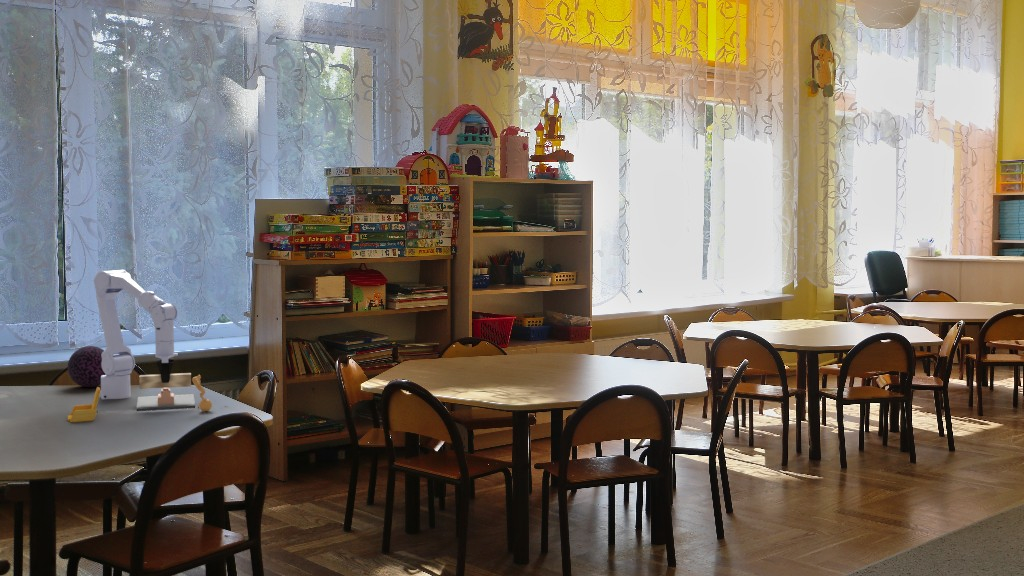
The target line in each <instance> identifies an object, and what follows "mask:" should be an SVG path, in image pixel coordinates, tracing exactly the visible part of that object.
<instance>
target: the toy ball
mask: <svg viewBox="0 0 1024 576" xmlns="http://www.w3.org/2000/svg"><path fill="white" fill-rule="evenodd" d="M103 352H104V349H102V348H101V347H98V346H94V345H87V346H83V347H80V348H78V349H77V350H75V351H74V352H73V353H72V354H71V356H70V357H69V359H68V361H67V373H68V376H69V377H70V379H71V380H72V382H74V383H75V384H77V385H78V386H81V387H83V388H97V387H99V386H101V375H105V373H104V371H103V370H102V366H101V363H102V356H101V354H102V353H103Z"/></svg>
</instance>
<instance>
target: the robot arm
mask: <svg viewBox="0 0 1024 576" xmlns="http://www.w3.org/2000/svg"><path fill="white" fill-rule="evenodd" d="M93 285H94V290H95V293H96V294H95V297H96V302H97V309H98V312H99V317H100V320H101V321H100V322H101V326H102V329H103V330H102V331H103V337H104V340H105V345H106V348H104V349H105V350H104V349H103V350H104V352H103V353H102V354H101V356H102V363H101V366H102V370H103V371H104V373H105V375H101V385H100V395H99V397H100V399H101V400H122V399H123V400H124V399H127V398H128V399H129V398H130V397H131V395H132V394H131V374H132V371H133V370H134V368H135V366H136V360H135V357H134V354H132V350H131V348H130V347H128V346H127V345H126V344H125V342H124V339H123V335H122V329H121V324H120V321H119V315H118V310H117V305H116V302H115V300H116V297H117V296H118V295H119V294H121V292H123V290H124V291H125V292H127V293H128V294H129V295H131V296H132V297H134V298H135V299H137V301H138V302H137V303H138V305H139V306H141V308H143V309H144V310H145V311H146V312H148V313H149V314H150V318H151V320H152V321H153V326H154V327H153V328H154V330H155V331H154V333H155V334H154V336H155V341H154V342H155V355H154V357H155V358H156V360H155V364H156V366H157V367H158V370H159V374H160V375H161V380H162V383H169V380H170V374H172V369H173V366H174V364H175V358H173V357H178V356H179V355H178V354H179V353H178V352H175V338H174V337H175V332H174V331H175V330H174V321H175V320H176V318H177V316H178V309H177V307H176V306H175V305H174V304H173V303H172V302H168V303H167V302H165V300H164V299H161V298H160V297H158V296H157V294H156V292H154V291H150V290H147V291H146V290H144V288H142V287H141V286H140V285H139V284H138V283H137V282H136V281H135V280H134V279H132V276H131V274H130V273H129V272H127V271H126V269H117V270H115V269H114V270H99V271H98V272H97V273H96V275H95V276H94V278H93ZM157 358H158V359H157Z"/></svg>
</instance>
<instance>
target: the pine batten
mask: <svg viewBox="0 0 1024 576" xmlns="http://www.w3.org/2000/svg"><path fill="white" fill-rule="evenodd" d="M138 377H139V390H143V389H144V390H146V389H163V388H168V389H169V388H183V387H186V388H187V387H192V373H191V372H184V373H183V372H181V373H180V372H179V373H170V380H169V383H162V380H161V375H160V373H159V374H140V375H139V376H138Z"/></svg>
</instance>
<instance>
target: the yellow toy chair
mask: <svg viewBox="0 0 1024 576" xmlns="http://www.w3.org/2000/svg"><path fill="white" fill-rule="evenodd" d="M100 392H101V386H100V387H99V386H96V390H95V393H94V395H93V396H94V397H93V401H92V403H90V404H88V403H87V404H76V405H73V407H72V409H71V412H70V415H67V422H69V423H77V422H91V421H92V422H93V421H95V419H96V416H97V412H98V410H97V408H98V407H97V405H98V403H99V397H100Z"/></svg>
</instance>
